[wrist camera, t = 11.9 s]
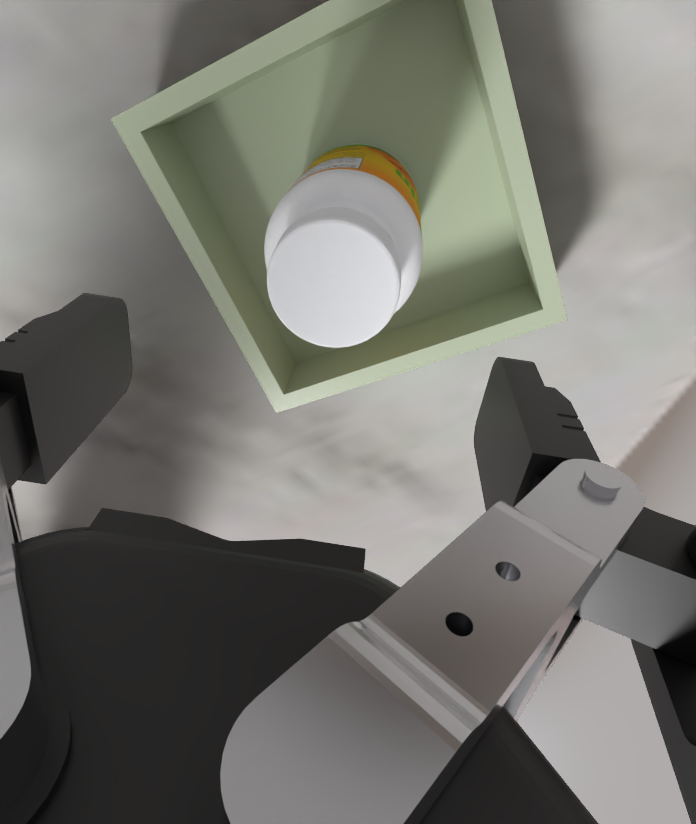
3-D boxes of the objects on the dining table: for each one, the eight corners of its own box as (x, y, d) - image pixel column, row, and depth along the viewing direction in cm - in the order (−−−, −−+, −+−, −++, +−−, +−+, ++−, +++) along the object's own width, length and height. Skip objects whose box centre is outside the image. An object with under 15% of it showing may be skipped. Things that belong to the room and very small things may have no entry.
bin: (547, 286, 26) (567, 319, 23) (291, 373, 30) (276, 413, 27) (462, -56, 20) (473, -79, 17) (152, 109, 24) (110, 119, 21)
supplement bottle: (431, 252, 25) (442, 348, 17) (319, 281, 26) (279, 384, 18) (403, 123, 22) (400, 165, 14) (279, 162, 24) (212, 222, 16)
